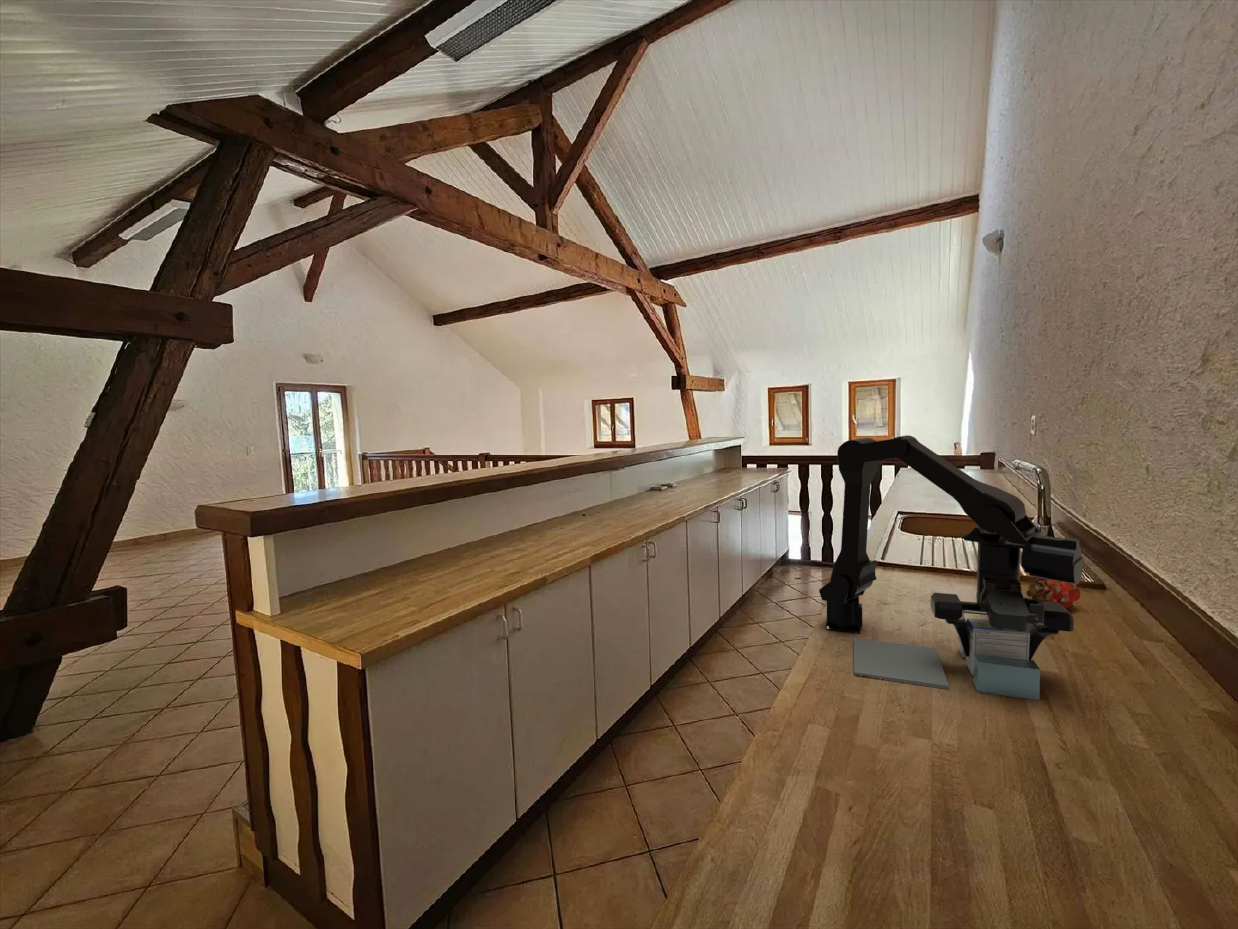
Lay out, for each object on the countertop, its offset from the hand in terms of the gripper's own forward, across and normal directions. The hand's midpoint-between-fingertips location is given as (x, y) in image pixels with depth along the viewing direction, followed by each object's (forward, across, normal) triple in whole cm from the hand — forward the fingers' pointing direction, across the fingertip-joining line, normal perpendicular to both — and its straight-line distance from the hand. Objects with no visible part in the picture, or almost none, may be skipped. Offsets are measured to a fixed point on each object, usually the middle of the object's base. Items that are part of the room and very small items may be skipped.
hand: (995, 659), depth 88 cm
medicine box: (+3, 0, 0) cm, 3 cm away
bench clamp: (+3, 0, +3) cm, 4 cm away
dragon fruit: (+3, +18, +36) cm, 40 cm away
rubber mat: (+2, -15, -1) cm, 15 cm away
